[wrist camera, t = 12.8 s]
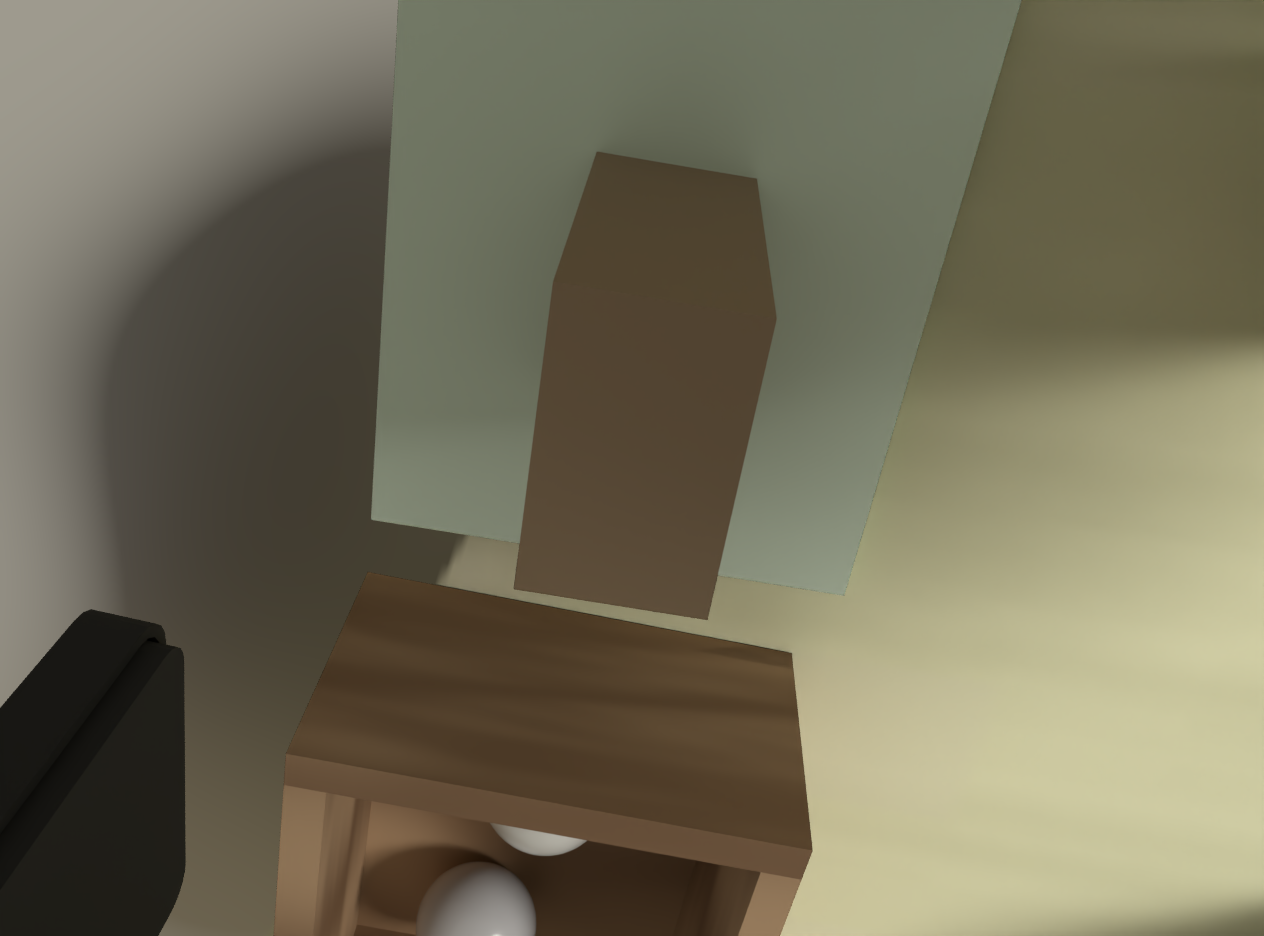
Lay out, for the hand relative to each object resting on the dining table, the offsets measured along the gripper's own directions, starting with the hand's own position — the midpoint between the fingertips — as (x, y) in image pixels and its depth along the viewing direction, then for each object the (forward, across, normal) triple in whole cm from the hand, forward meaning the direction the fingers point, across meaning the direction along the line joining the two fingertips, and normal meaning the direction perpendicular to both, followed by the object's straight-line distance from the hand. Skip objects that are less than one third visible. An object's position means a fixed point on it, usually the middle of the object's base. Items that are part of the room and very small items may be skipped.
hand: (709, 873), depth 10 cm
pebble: (+14, +3, +18) cm, 23 cm away
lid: (+15, +2, +1) cm, 15 cm away
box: (+14, +2, +15) cm, 21 cm away
